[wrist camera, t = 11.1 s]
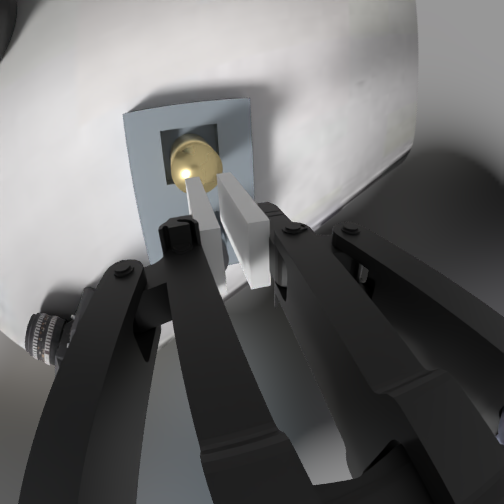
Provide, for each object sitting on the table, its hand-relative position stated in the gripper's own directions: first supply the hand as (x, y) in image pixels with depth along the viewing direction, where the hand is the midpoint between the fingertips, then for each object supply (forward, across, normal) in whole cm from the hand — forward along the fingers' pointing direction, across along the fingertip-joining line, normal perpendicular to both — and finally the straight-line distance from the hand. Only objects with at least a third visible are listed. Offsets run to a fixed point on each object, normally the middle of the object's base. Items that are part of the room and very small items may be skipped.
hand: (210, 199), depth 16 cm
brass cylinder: (+15, 0, 0) cm, 15 cm away
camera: (+17, -21, -20) cm, 33 cm away
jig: (+16, 0, -4) cm, 17 cm away
